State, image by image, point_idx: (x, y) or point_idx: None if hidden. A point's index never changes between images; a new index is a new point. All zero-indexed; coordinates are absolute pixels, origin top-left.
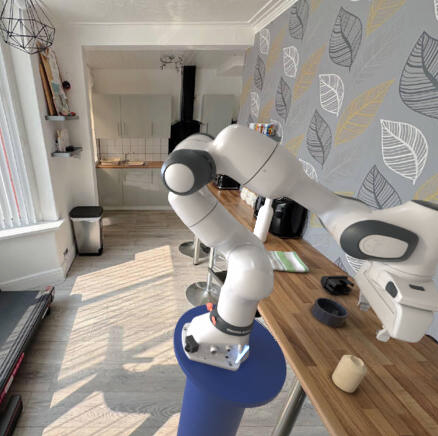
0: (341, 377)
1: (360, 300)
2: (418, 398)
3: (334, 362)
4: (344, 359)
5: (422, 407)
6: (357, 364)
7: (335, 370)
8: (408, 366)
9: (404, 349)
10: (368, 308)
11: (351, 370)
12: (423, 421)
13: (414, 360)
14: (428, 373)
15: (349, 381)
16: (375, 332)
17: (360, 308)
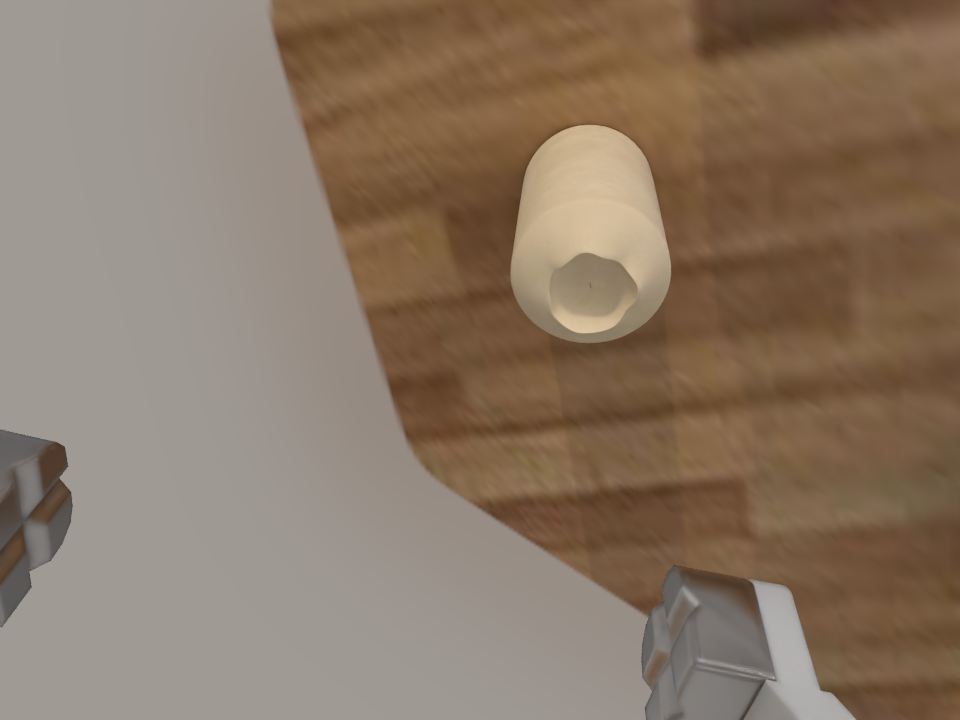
0: (556, 161)
1: (793, 707)
2: (565, 515)
3: (740, 210)
4: (609, 213)
5: (520, 500)
6: (571, 286)
7: (621, 153)
8: None
9: (853, 642)
10: (653, 694)
11: (532, 221)
12: (450, 459)
13: None
14: None
15: (525, 197)
16: (13, 464)
17: (677, 584)
